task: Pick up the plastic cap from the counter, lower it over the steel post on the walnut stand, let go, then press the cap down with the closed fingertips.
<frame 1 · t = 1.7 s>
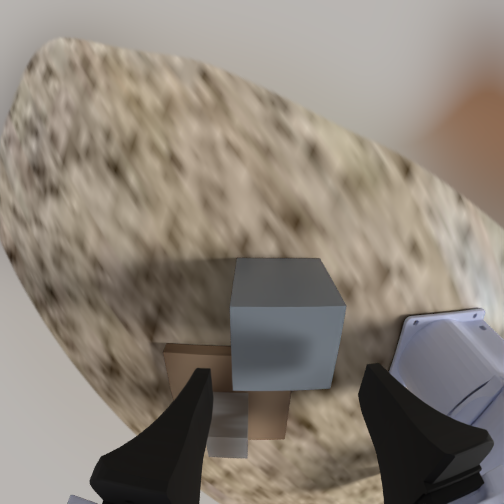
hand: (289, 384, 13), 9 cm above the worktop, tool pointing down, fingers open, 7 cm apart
cap: (277, 295, 21), on the worktop
post stand: (231, 394, 25), on the worktop
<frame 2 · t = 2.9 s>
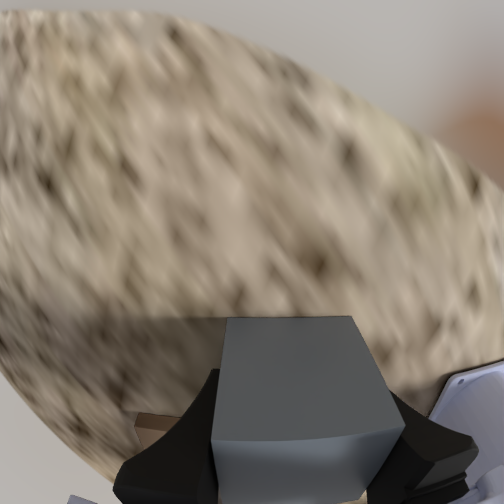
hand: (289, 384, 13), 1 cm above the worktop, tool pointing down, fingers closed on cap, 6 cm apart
cap: (286, 365, 14), on the worktop, touching gripper
post stand: (225, 464, 17), on the worktop
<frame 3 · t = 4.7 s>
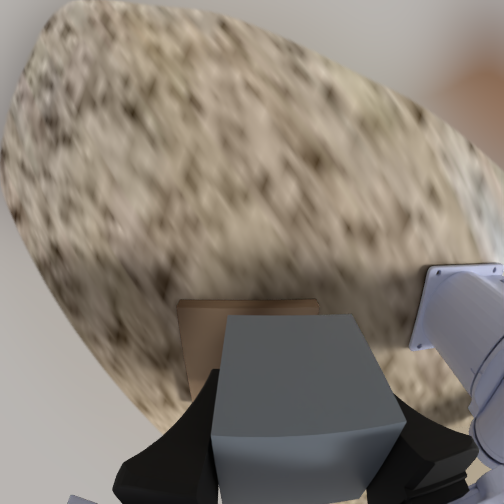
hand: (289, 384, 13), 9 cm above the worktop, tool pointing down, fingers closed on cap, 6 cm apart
cap: (287, 363, 14), point 8 cm above the worktop, touching gripper
post stand: (248, 359, 24), on the worktop
when the fingers open (4 cm above the worktop, at t = 6.8 s): cap drops 2 cm, resting on post stand.
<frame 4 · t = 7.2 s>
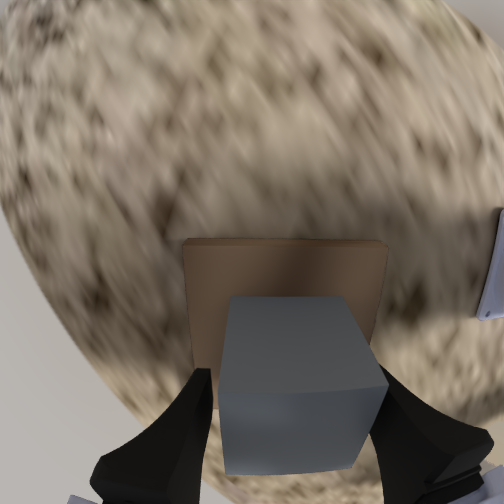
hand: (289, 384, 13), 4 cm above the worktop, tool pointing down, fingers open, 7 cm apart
cap: (284, 342, 16), point 1 cm above the worktop, touching post stand
lightbulb: (458, 441, 23), on the worktop
post stand: (282, 332, 17), on the worktop
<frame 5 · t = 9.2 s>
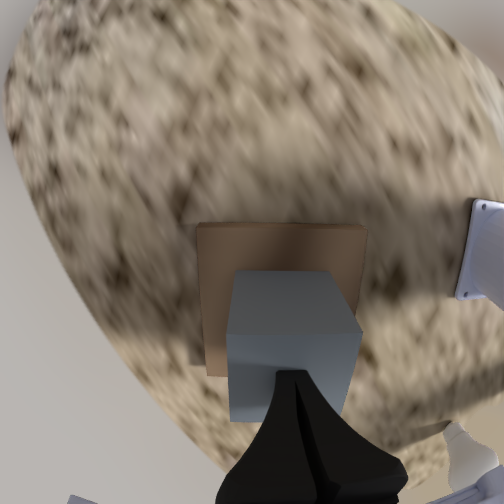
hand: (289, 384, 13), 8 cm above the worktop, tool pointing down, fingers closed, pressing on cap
cap: (280, 312, 19), point 1 cm above the worktop, touching gripper, post stand
lightbulb: (448, 423, 26), on the worktop
post stand: (279, 304, 20), on the worktop
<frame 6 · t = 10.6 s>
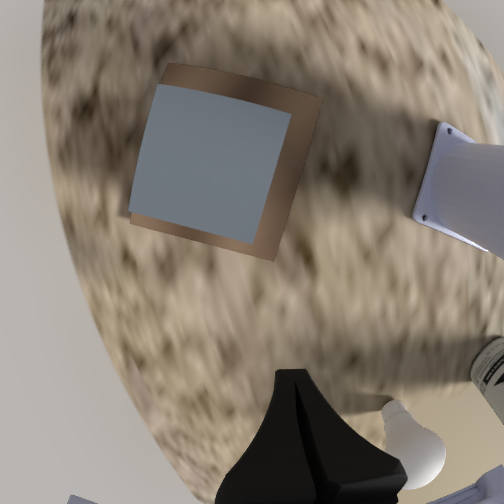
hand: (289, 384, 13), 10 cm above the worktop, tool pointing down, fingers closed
spray can: (488, 358, 26), on the worktop
cap: (221, 157, 18), point 1 cm above the worktop, touching post stand
lightbulb: (389, 401, 27), on the worktop
post stand: (222, 158, 19), on the worktop
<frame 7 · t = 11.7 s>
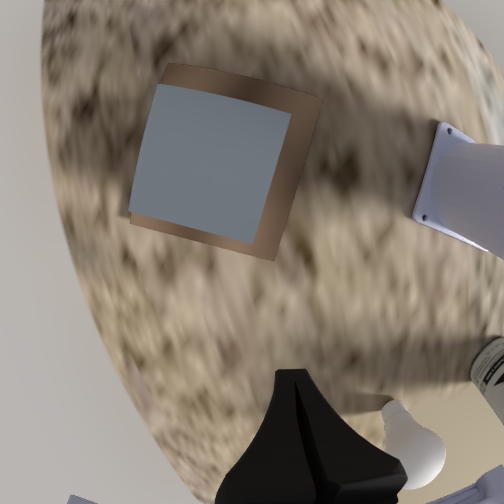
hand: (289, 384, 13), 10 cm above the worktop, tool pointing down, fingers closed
spray can: (488, 358, 26), on the worktop
cap: (221, 157, 18), point 1 cm above the worktop, touching post stand
lightbulb: (389, 401, 27), on the worktop
post stand: (222, 158, 19), on the worktop
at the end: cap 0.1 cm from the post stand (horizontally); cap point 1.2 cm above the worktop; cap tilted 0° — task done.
